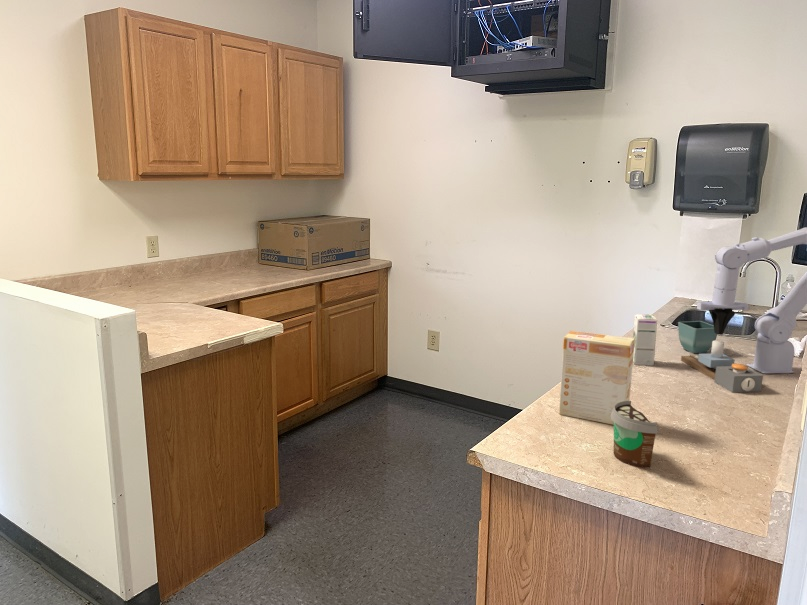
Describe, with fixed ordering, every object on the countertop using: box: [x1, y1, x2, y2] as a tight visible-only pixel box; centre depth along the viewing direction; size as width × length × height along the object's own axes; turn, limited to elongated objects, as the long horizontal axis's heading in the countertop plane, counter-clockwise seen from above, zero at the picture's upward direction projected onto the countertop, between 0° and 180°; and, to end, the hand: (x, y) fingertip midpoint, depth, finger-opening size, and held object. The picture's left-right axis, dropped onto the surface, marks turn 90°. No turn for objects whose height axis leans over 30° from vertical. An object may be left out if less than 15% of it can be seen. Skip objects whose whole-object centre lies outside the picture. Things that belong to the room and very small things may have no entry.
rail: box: [680, 352, 716, 381], centre depth 177 cm, size 6×18×2 cm, turn 5°
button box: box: [714, 366, 764, 393], centre depth 163 cm, size 8×8×4 cm
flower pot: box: [677, 320, 718, 354], centre depth 194 cm, size 9×9×9 cm
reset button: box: [732, 363, 749, 374], centre depth 163 cm, size 4×4×4 cm
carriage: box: [698, 339, 735, 368], centre depth 172 cm, size 7×6×7 cm
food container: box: [611, 400, 659, 469], centre depth 122 cm, size 12×6×10 cm, turn 5°
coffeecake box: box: [558, 330, 635, 426], centre depth 142 cm, size 15×7×20 cm, turn 61°
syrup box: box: [632, 313, 658, 367], centre depth 182 cm, size 6×6×14 cm
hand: (718, 333), depth 177 cm, fingers closed
